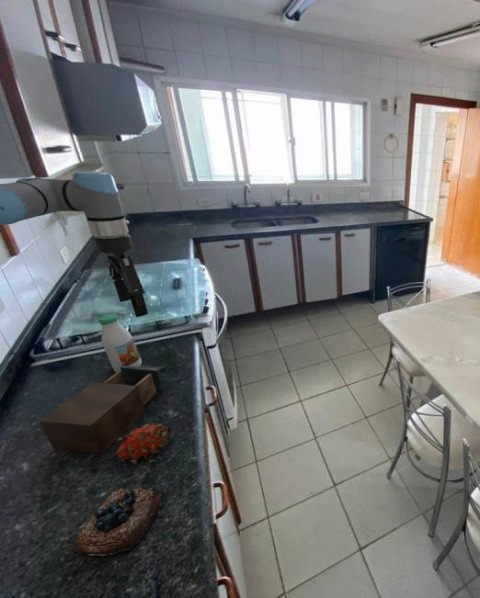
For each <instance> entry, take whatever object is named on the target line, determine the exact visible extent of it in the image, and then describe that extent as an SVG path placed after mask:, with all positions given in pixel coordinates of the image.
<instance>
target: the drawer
mask: <svg viewBox="0 0 480 598" xmlns="http://www.w3.org/2000/svg"><path fill="white" fill-rule="evenodd" d="M120 369H121V371H118V372H115V373H114V374H113V375H112V376H110V377H109V378H107V379H106V380H104V381H103V382H102V383H110V384H121V385H132V386H137V387H138V390H139V393H140V396H141V399H142V402H143V405H144V406H145V405H146V404H147V403H148V402H149V401H150V400H151V399H152V398H153V397H155V395H157V393H158V392H157V391H160V392H163V391H164V390H165V389H166V387H165V386H166V385H165V383H164V379H163V376H162V373H164V372H165V370H166V368H165V367H164V366H154V365H153V366H151V365H141V366H140V367H137V366H125V365H123V366H121V367H120Z"/></svg>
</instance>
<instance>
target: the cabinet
mask: <svg viewBox="0 0 480 598" xmlns="http://www.w3.org/2000/svg"><path fill="white" fill-rule="evenodd" d="M145 413H146V407H145V405H143V402H142V399H141V396H140V393H139V390H138V387H137V386H132V385H121V384H110V383H103V382H97V381H93V382H91V383H90V384H89V385H87V386H86V387H84V388H83V389H81V390H80V391H78V392H77V393H76V394H74V395H73V396H71V398H69V399H67V400H65V402H63V403H62V404H60V405H59V406H58V407H56V408H55V409H54V410H52V411H51V412H49V413H48V414H47V415H45V416H44V417H42V418H41V419H40V420H39V424H40V426H41V427H42V430H43V432H44V433H45V435H46V437H47V439H48V442H49V443H50V445H51V447H52V449H53V450H59V451H67V452H68V451H69V452H80V453H90V454H104V453H105V452H106V451H107V450H108V449H109V448H110V447H111V446H112V445H113V444H115V442H117V441H118V439H119V438H120V437H122V436H123V434H124V433H126V432H127V431H128V430H129V429H130V428H131V427H132V426H133V425H134V424H135V423H136V422H137V421H138V420H139V419H140V418H141V417H142V416H143V415H144V414H145Z"/></svg>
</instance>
